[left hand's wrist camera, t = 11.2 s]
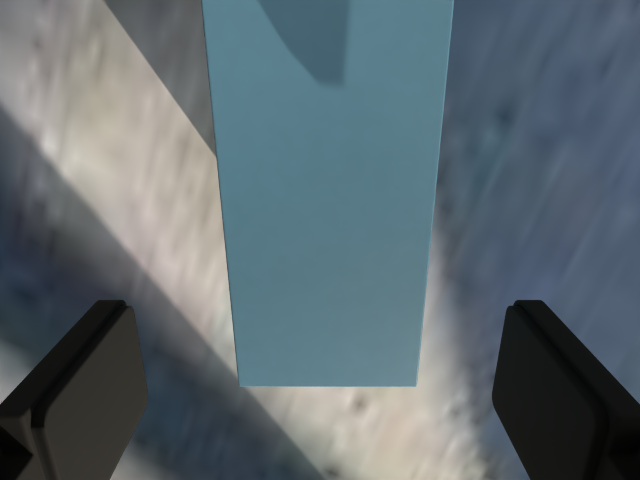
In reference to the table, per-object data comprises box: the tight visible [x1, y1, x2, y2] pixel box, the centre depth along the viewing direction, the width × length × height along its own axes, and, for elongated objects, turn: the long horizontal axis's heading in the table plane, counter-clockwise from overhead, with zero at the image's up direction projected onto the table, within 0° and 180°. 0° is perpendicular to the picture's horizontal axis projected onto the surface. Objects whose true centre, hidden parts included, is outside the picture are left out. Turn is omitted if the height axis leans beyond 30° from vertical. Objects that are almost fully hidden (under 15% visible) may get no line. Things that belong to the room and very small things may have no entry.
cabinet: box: [201, 0, 454, 387], centre depth 16 cm, size 20×6×12 cm, turn 0°
